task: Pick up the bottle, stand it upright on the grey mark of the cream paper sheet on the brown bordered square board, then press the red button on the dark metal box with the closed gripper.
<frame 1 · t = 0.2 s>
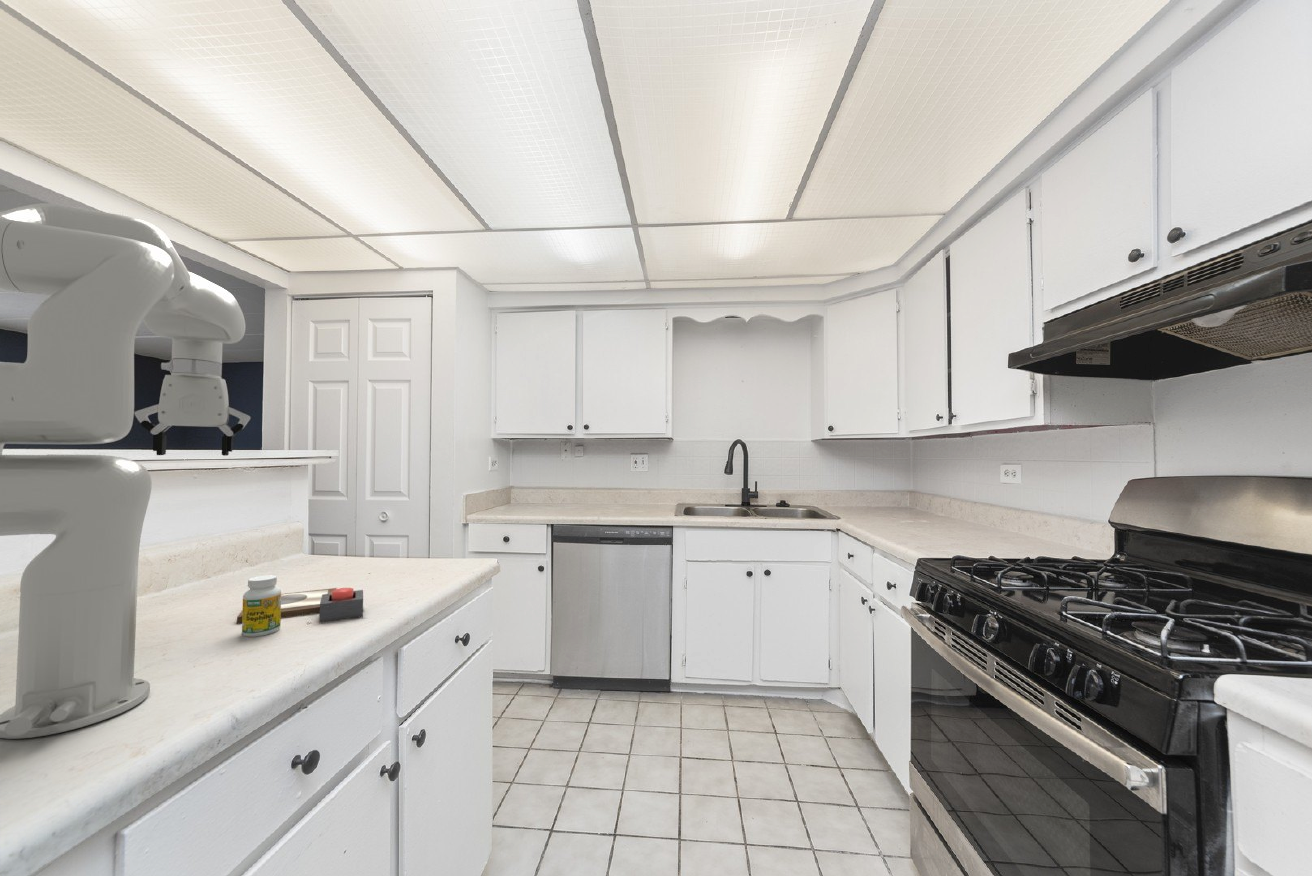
hand: (193, 455, 100), 31 cm above the worktop, tool pointing down, fingers open, 9 cm apart
done button: (342, 596, 97), point 3 cm above the worktop, slide at 0.0 cm
brown bordered square board: (291, 607, 101), on the worktop
supplement bottle: (261, 633, 88), on the worktop
button housing: (341, 614, 97), on the worktop
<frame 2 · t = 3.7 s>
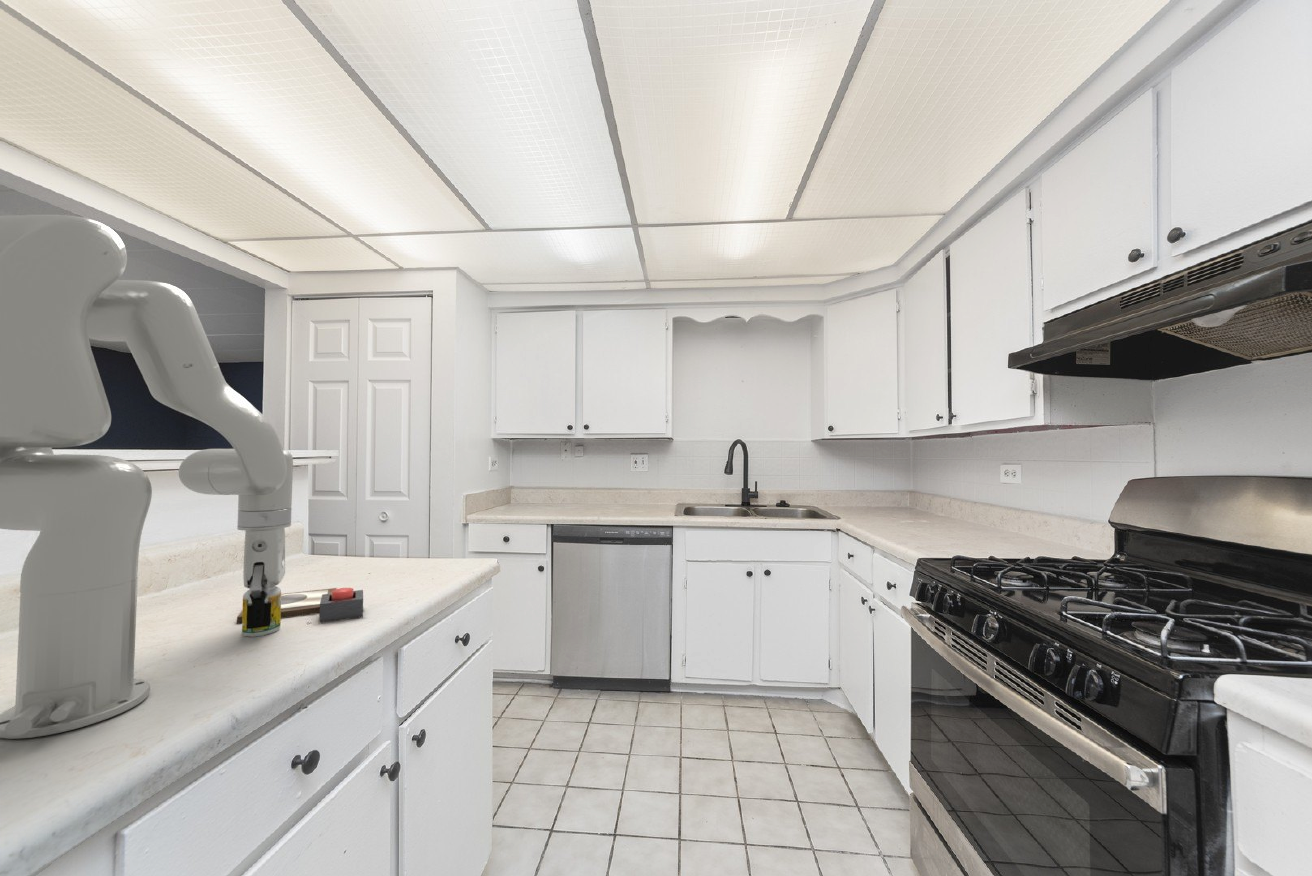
hand: (261, 620, 88), 2 cm above the worktop, tool pointing down, fingers closed on supplement bottle, 5 cm apart
supplement bottle: (261, 633, 88), on the worktop, touching gripper
everything else where it was.
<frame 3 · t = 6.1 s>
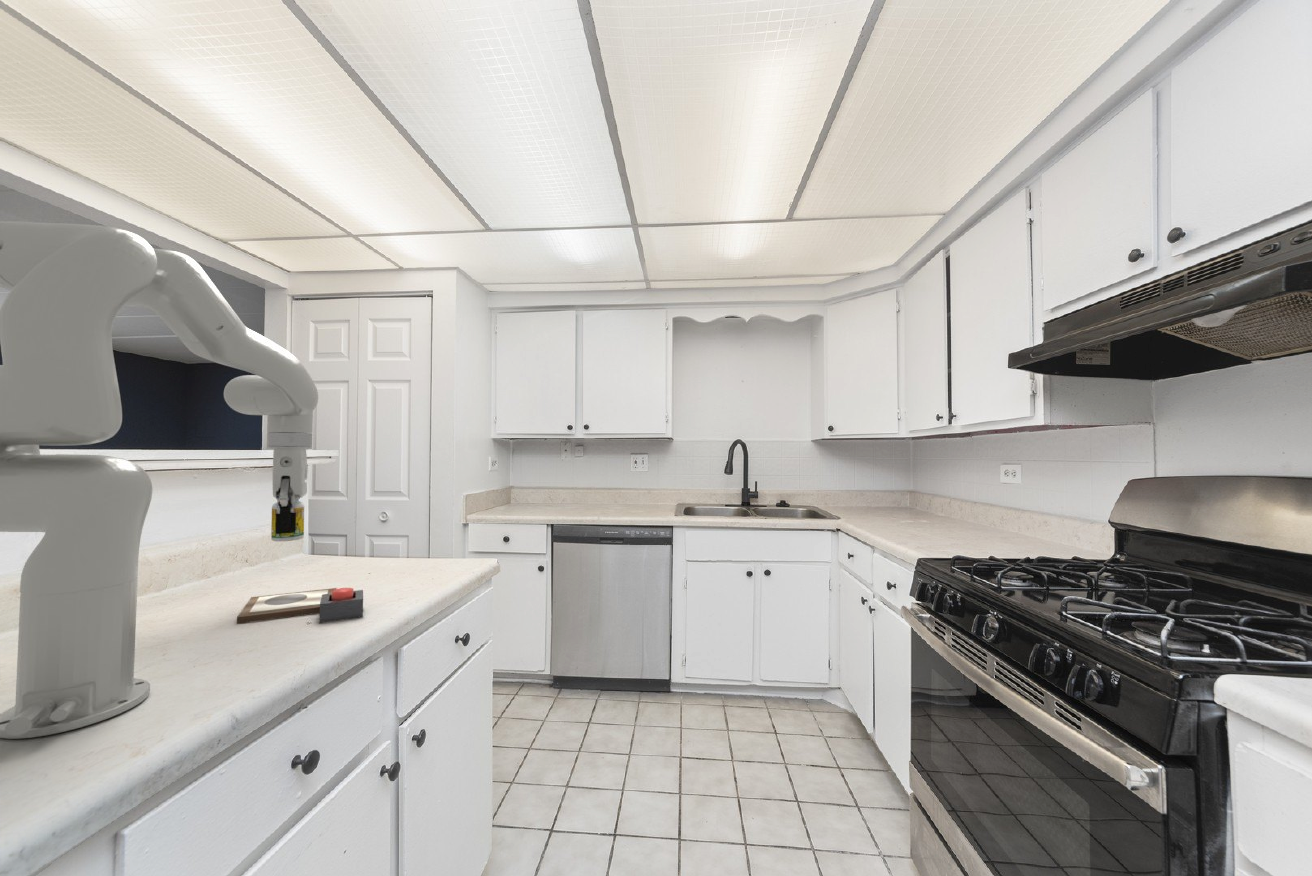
hand: (287, 529, 101), 16 cm above the worktop, tool pointing down, fingers closed on supplement bottle, 5 cm apart
supplement bottle: (287, 540, 101), point 14 cm above the worktop, touching gripper
everything else where it was.
when the fingers open (5 cm above the worktop, at t = 8.5 s): supplement bottle drops 2 cm, resting on brown bordered square board.
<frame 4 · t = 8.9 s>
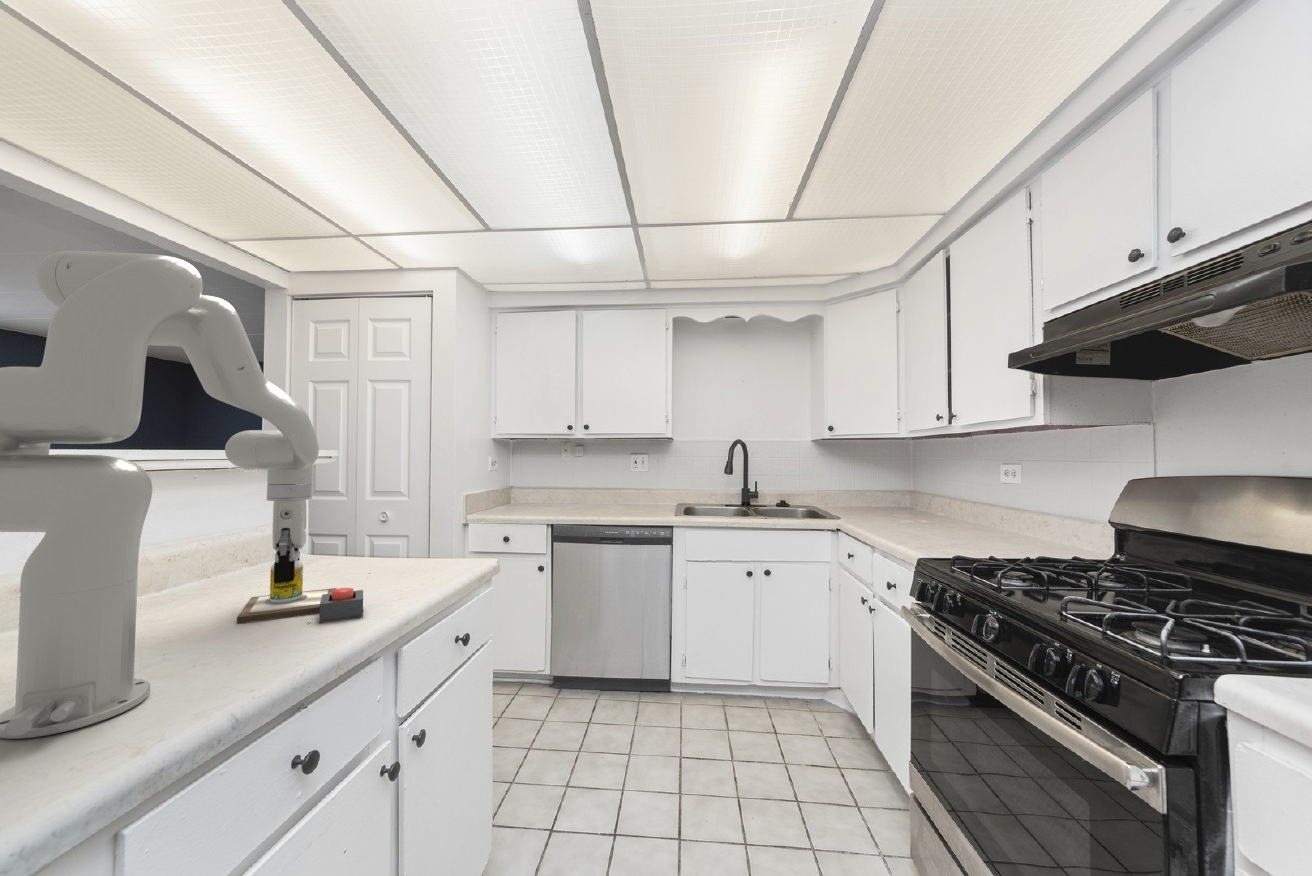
hand: (287, 576, 102), 6 cm above the worktop, tool pointing down, fingers open, 9 cm apart
supplement bottle: (286, 600, 101), point 1 cm above the worktop, touching brown bordered square board
everything else where it was.
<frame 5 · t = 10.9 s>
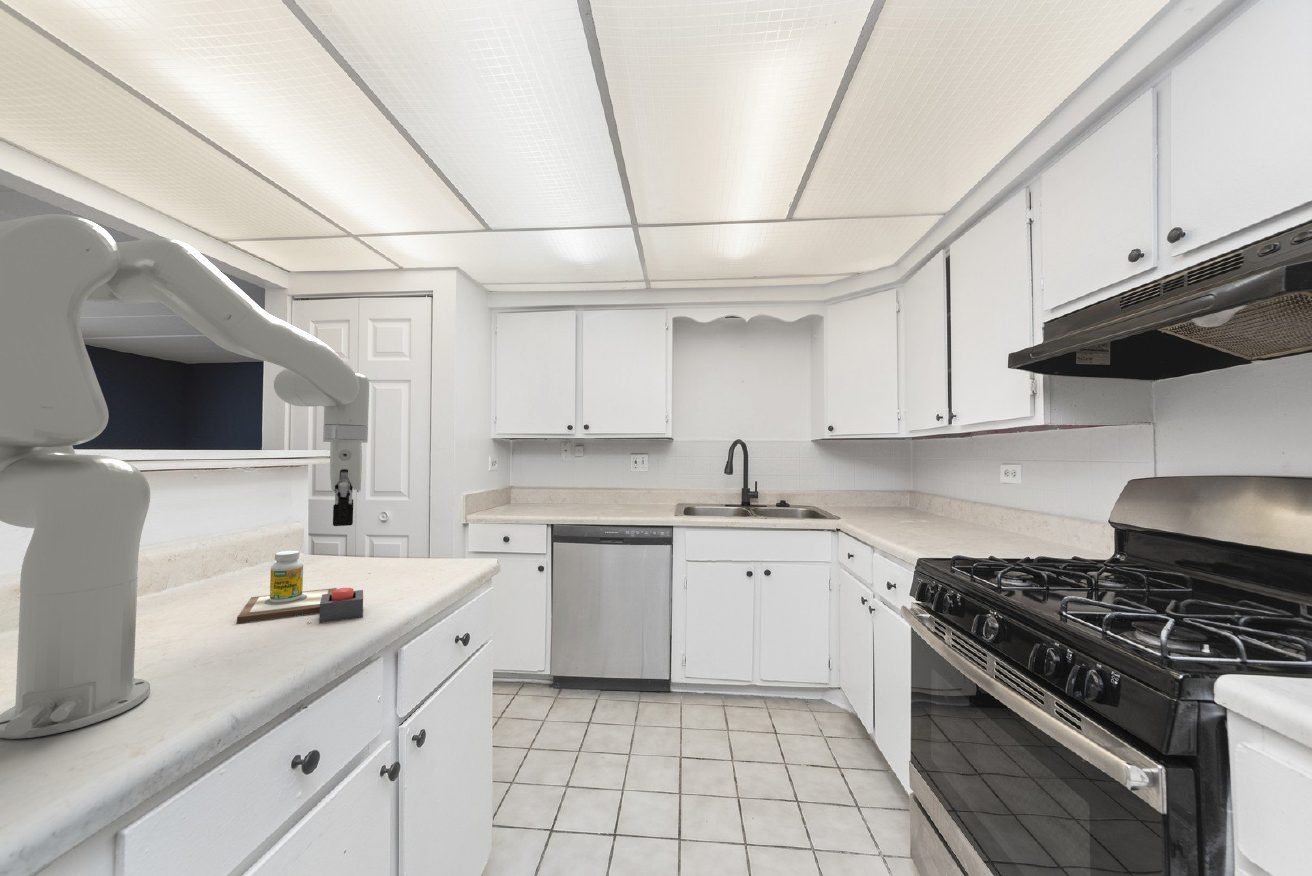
hand: (343, 522, 98), 18 cm above the worktop, tool pointing down, fingers open, 8 cm apart
nothing on the worktop moved.
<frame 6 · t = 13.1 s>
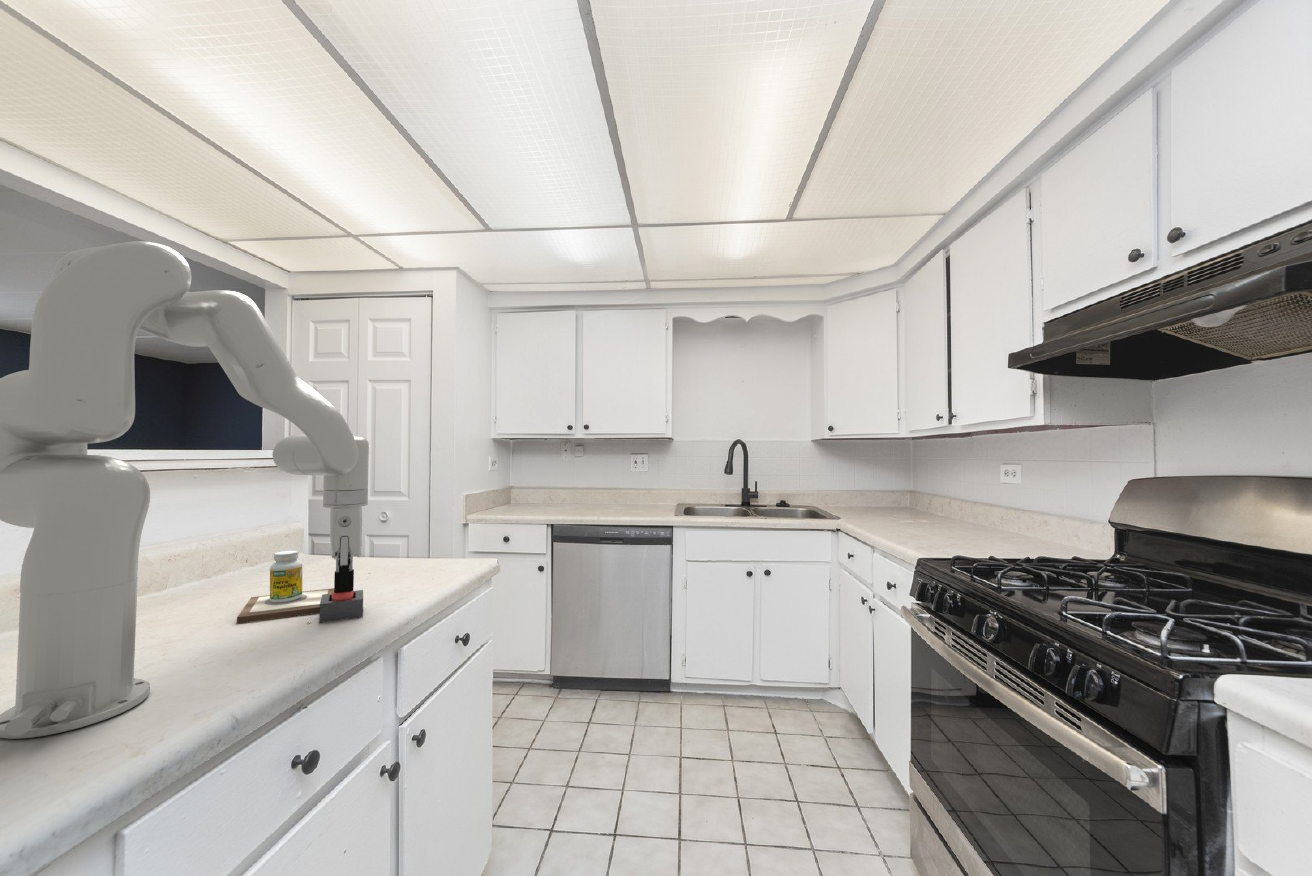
hand: (343, 591, 98), 4 cm above the worktop, tool pointing down, fingers closed
done button: (342, 598, 97), point 3 cm above the worktop, slide at 0.3 cm, touching gripper
everything else where it was.
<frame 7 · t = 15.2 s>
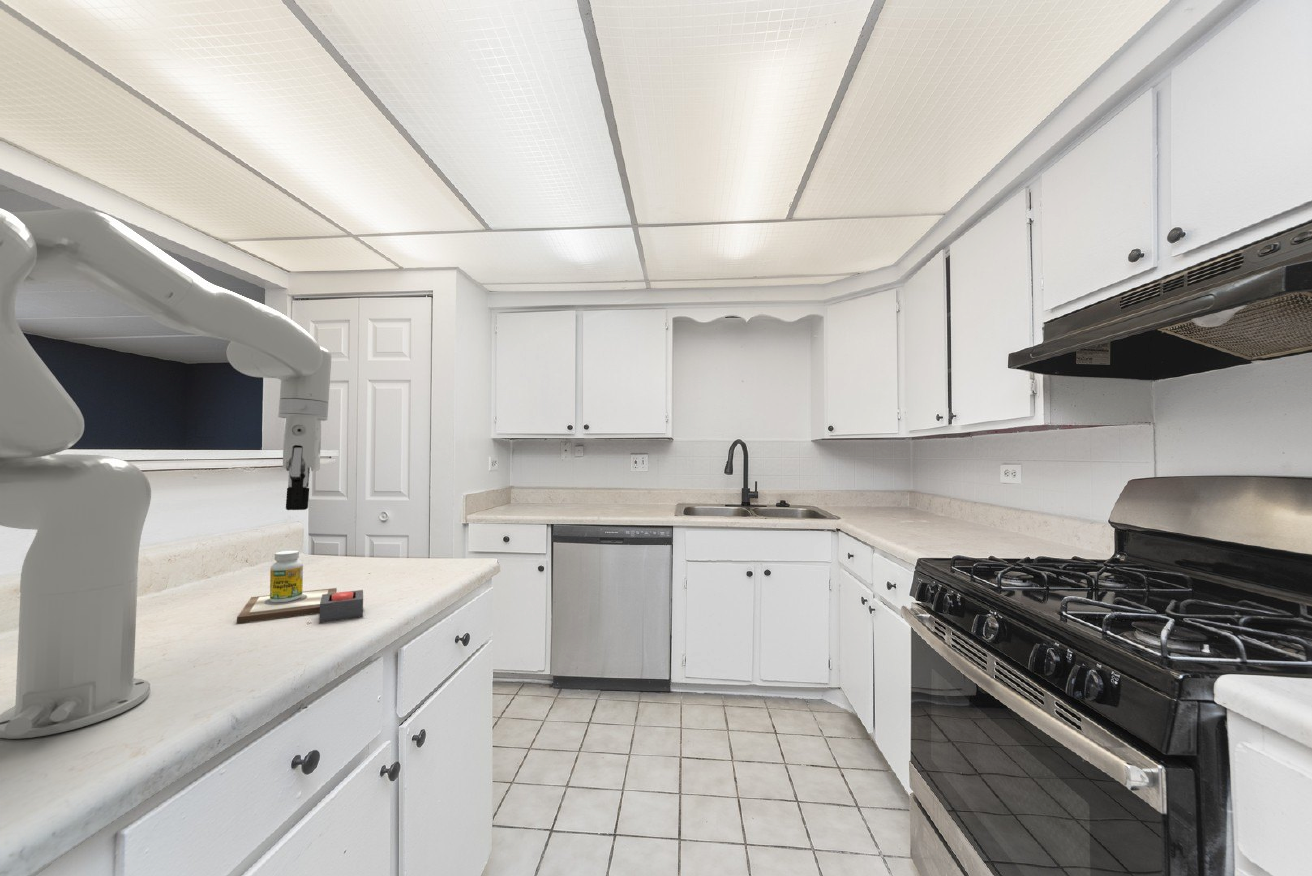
hand: (296, 509, 91), 21 cm above the worktop, tool pointing down, fingers closed
done button: (342, 600, 97), point 3 cm above the worktop, slide at 0.8 cm
everything else where it was.
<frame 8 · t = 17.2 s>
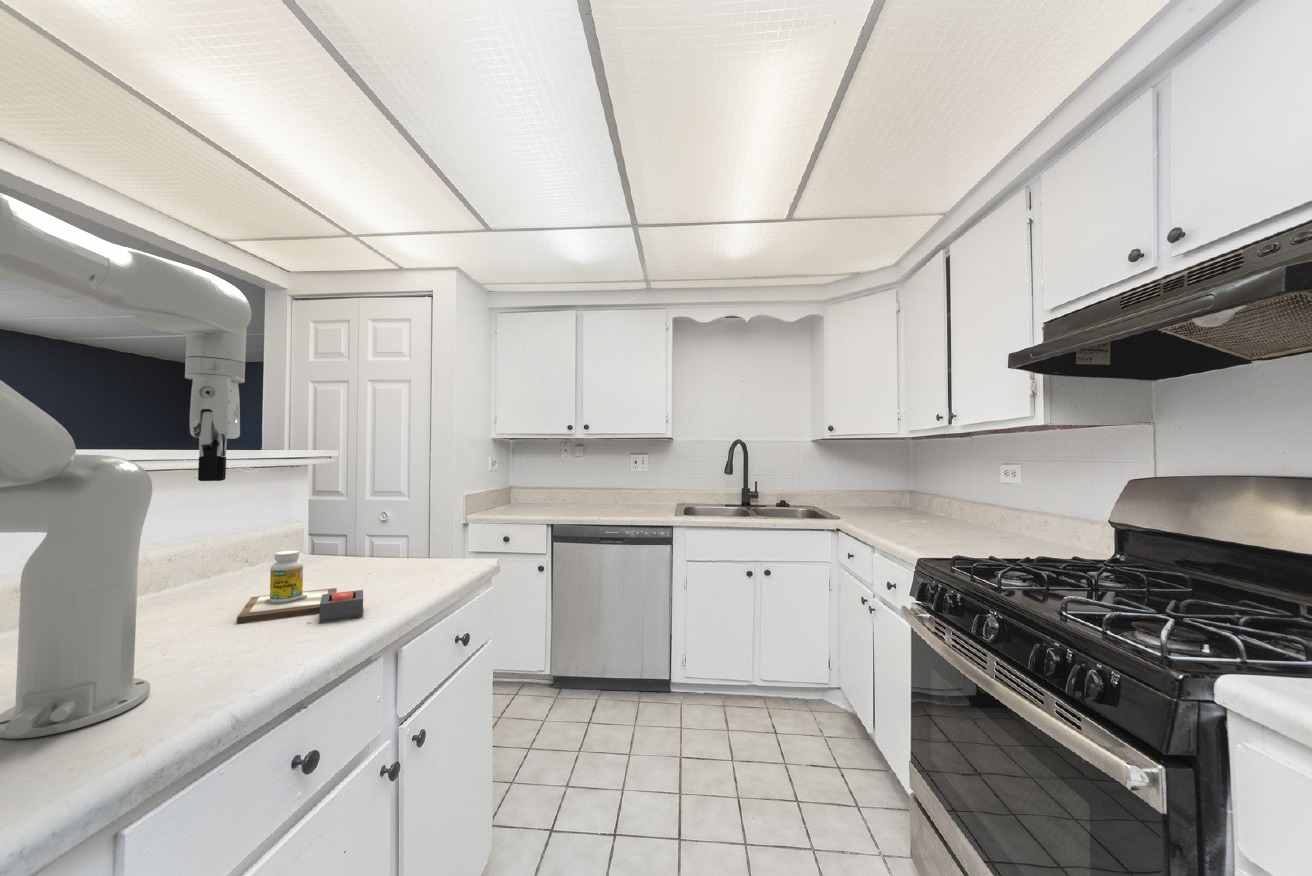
hand: (211, 480, 83), 27 cm above the worktop, tool pointing down, fingers closed
nothing on the worktop moved.
at the end: supplement bottle inside the target area (0.9 cm from its centre), point 1.3 cm above the worktop; supplement bottle tilted 1°; done button slide at 0.8 cm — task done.
